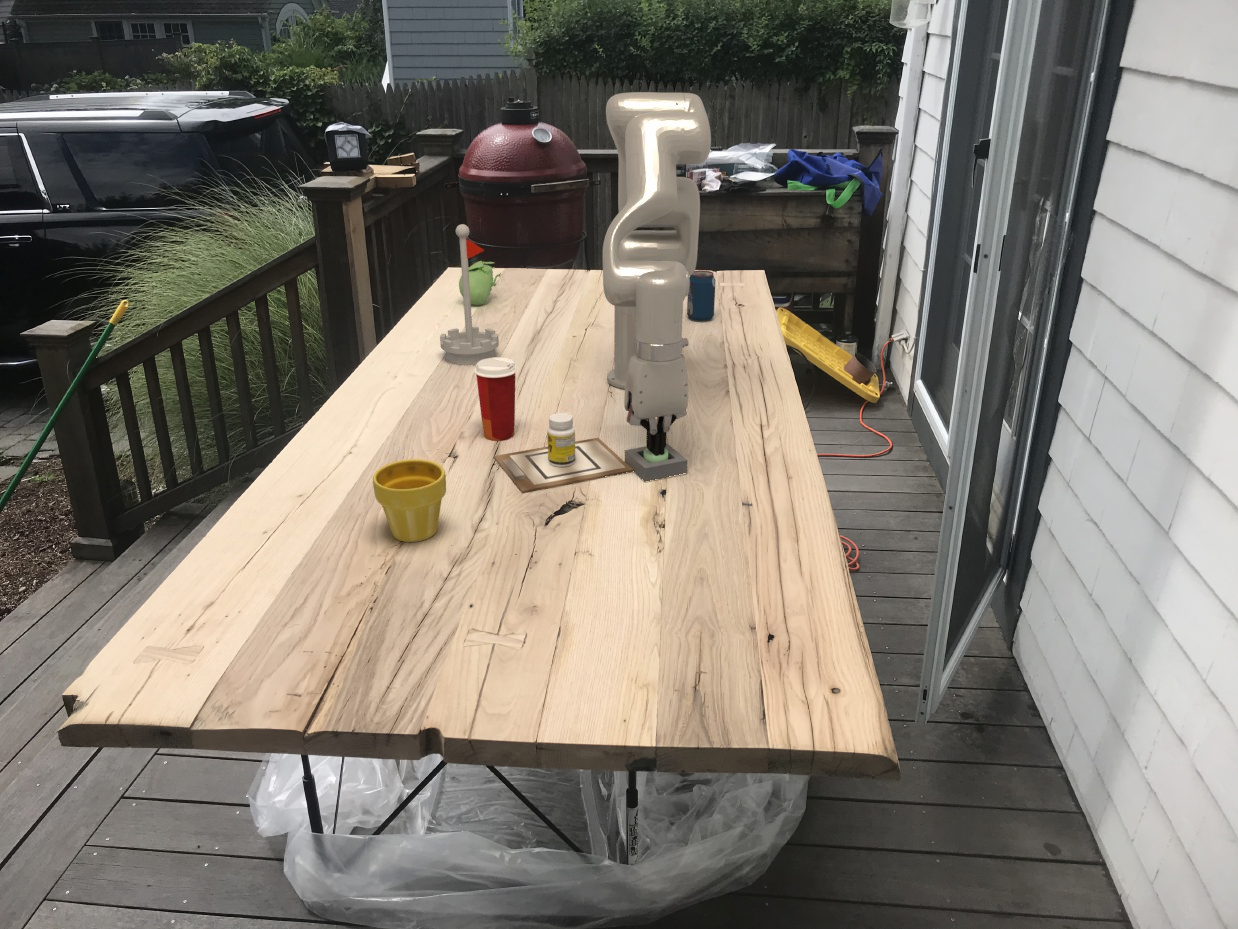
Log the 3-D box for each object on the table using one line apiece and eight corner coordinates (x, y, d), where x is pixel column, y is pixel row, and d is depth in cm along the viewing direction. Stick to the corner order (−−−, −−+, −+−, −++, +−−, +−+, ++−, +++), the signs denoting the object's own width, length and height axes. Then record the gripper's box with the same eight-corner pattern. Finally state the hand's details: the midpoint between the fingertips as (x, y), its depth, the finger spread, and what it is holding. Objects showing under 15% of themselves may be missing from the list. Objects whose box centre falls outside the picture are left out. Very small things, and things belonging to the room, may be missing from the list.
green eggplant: (499, 309, 252) (497, 268, 247) (457, 309, 252) (455, 268, 247) (505, 297, 263) (503, 258, 258) (465, 297, 263) (462, 257, 258)
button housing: (665, 456, 168) (666, 442, 167) (687, 473, 161) (687, 460, 160) (624, 463, 165) (624, 450, 164) (644, 482, 158) (645, 468, 157)
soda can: (718, 317, 246) (720, 272, 241) (705, 324, 240) (708, 277, 235) (694, 313, 249) (696, 268, 244) (681, 320, 244) (683, 273, 239)
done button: (660, 458, 165) (661, 445, 164) (672, 468, 162) (672, 454, 161) (639, 462, 164) (639, 449, 163) (650, 472, 160) (650, 458, 159)
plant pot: (416, 556, 136) (410, 495, 132) (364, 537, 141) (357, 478, 137) (463, 526, 144) (459, 468, 140) (413, 509, 149) (407, 453, 145)
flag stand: (430, 362, 213) (419, 227, 200) (460, 346, 224) (451, 216, 211) (481, 370, 208) (473, 232, 196) (509, 352, 219) (503, 221, 207)
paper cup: (526, 430, 178) (523, 359, 172) (509, 445, 172) (505, 372, 166) (488, 424, 180) (484, 354, 174) (470, 439, 174) (465, 367, 168)
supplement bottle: (548, 456, 166) (546, 412, 163) (574, 455, 166) (574, 411, 163) (548, 468, 162) (547, 422, 158) (576, 467, 162) (575, 422, 159)
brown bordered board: (598, 439, 174) (598, 433, 174) (633, 471, 162) (633, 465, 161) (493, 458, 167) (493, 451, 166) (522, 493, 154) (522, 486, 154)
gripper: (688, 337, 160) (684, 437, 167) (606, 348, 154) (607, 451, 162) (710, 349, 154) (705, 453, 161) (626, 361, 148) (625, 468, 156)
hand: (656, 452), depth 161 cm, fingers closed
